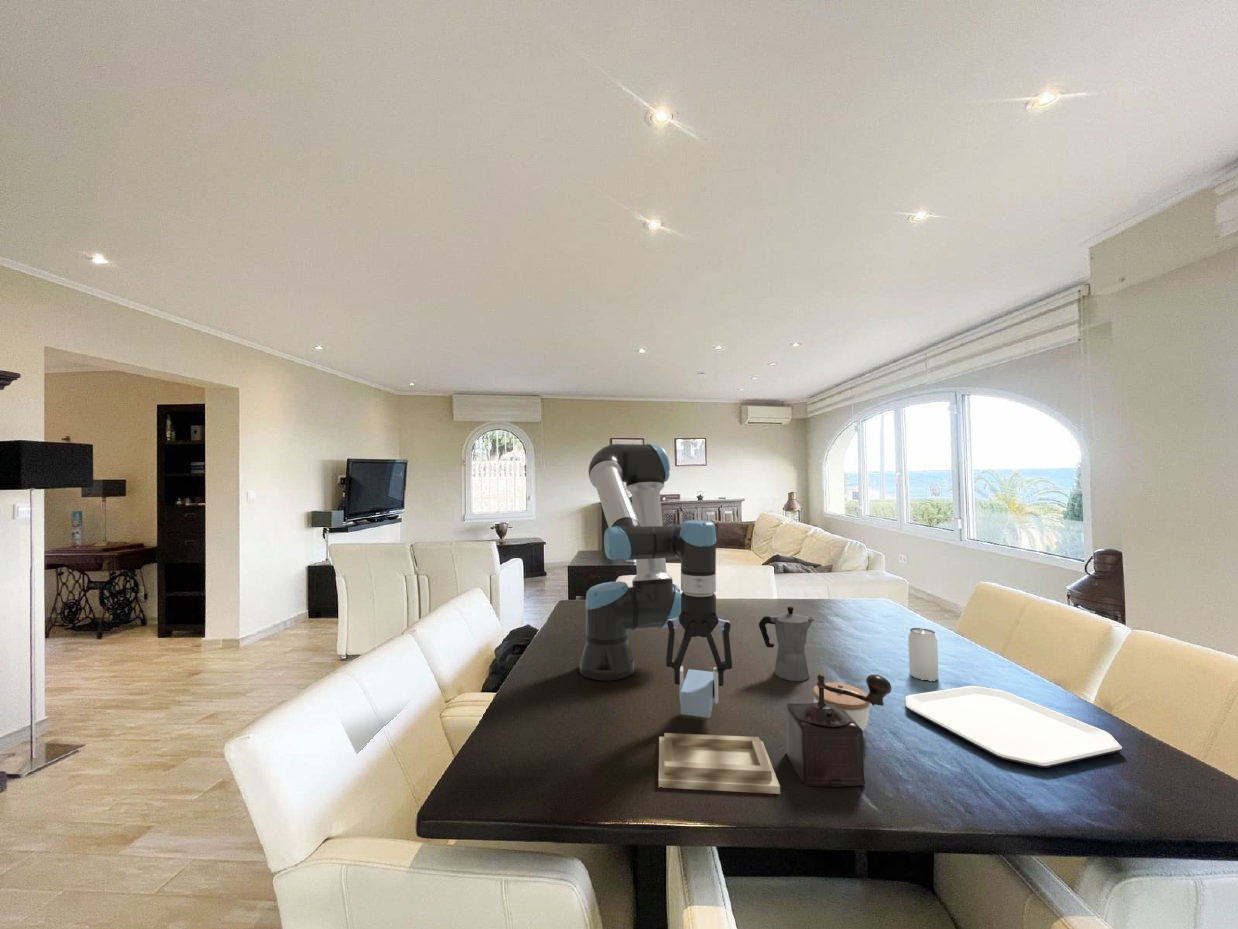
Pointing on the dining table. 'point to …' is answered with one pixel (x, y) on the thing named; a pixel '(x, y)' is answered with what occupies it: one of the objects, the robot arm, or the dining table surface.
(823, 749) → the coffee grinder
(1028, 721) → the plate
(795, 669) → the coffeepot
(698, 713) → the blue block
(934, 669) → the can
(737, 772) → the slot holder
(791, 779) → the dining table surface
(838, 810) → the dining table surface
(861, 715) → the lidded jar
